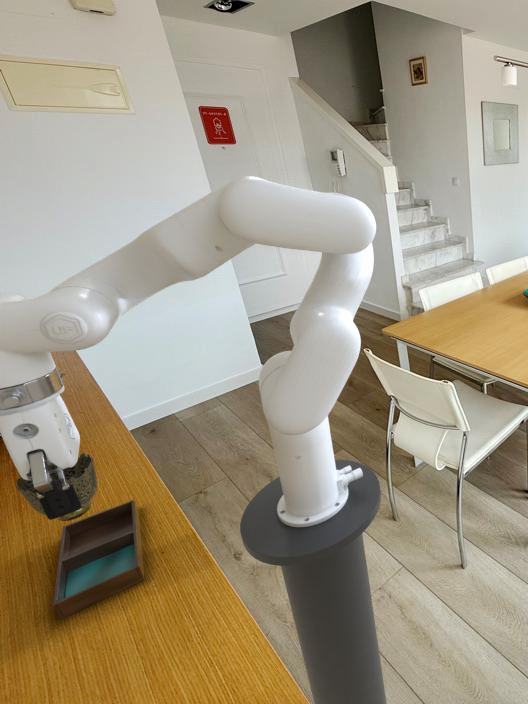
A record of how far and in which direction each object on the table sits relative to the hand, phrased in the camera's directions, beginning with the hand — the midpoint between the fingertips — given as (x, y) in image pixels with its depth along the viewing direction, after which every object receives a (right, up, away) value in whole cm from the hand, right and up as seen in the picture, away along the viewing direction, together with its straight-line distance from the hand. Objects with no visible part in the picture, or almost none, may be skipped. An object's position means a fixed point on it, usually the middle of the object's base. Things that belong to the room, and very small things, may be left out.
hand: (67, 496), depth 60 cm
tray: (-3, -14, +9) cm, 17 cm away
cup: (0, -3, +1) cm, 3 cm away
